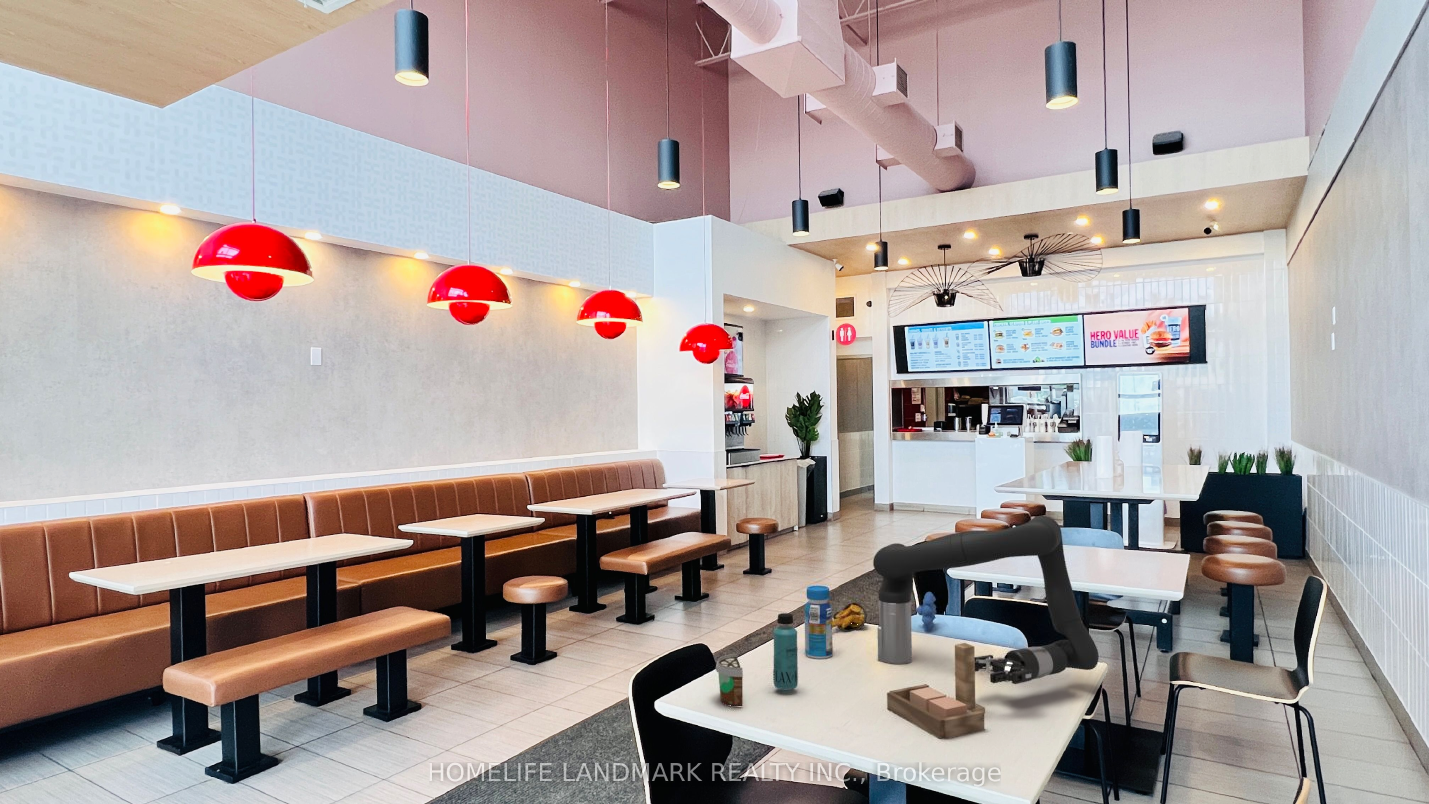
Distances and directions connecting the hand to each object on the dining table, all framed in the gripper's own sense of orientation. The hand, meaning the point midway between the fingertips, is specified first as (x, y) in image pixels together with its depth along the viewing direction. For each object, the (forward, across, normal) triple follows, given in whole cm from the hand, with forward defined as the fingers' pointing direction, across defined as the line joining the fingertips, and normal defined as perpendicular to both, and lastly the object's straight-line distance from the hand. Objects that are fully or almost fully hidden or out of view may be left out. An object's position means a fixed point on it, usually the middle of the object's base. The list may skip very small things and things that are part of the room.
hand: (978, 673), depth 192 cm
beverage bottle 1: (+35, +32, -9) cm, 48 cm away
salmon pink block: (+12, -3, -9) cm, 15 cm away
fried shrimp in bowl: (-9, +72, -8) cm, 73 cm away
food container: (+52, +33, -9) cm, 62 cm away
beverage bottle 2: (+12, +54, -9) cm, 56 cm away
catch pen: (+12, +1, -9) cm, 15 cm away
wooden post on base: (+4, +1, -9) cm, 10 cm away
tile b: (+12, +4, -9) cm, 16 cm away
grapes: (-34, +62, -8) cm, 71 cm away
